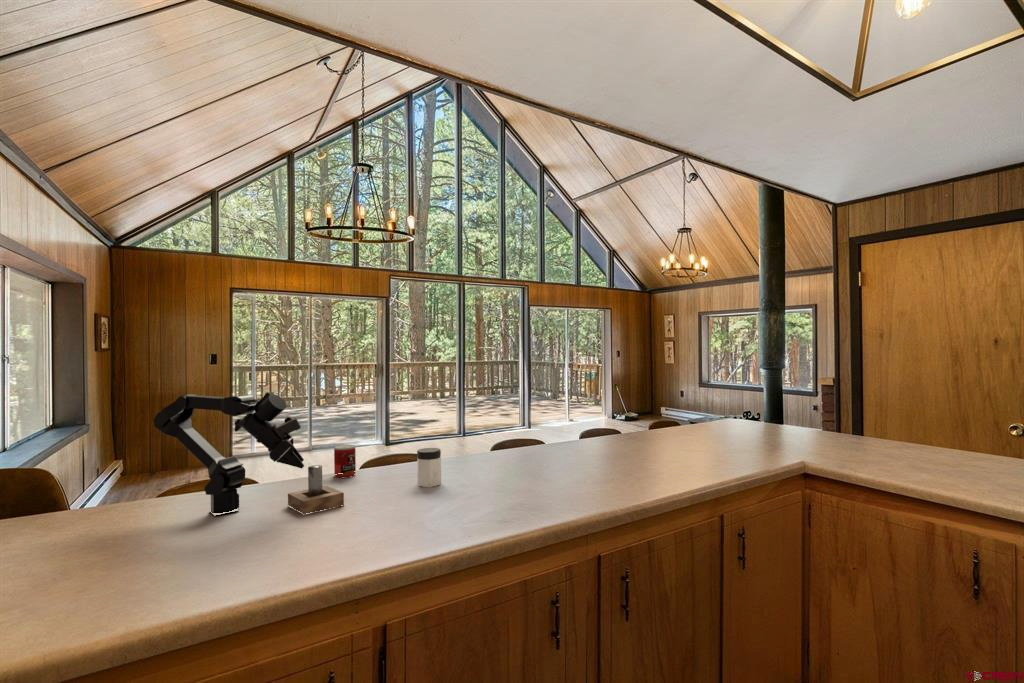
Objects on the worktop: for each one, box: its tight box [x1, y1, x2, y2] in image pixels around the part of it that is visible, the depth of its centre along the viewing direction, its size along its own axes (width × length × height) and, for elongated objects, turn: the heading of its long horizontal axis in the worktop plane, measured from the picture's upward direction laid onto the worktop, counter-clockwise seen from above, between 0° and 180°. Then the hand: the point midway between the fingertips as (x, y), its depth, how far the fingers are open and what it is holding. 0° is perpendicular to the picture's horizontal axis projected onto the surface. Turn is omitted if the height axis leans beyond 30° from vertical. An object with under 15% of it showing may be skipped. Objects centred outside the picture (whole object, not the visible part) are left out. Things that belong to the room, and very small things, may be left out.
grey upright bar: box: [307, 464, 324, 497], centre depth 151 cm, size 4×4×12 cm
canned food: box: [333, 444, 357, 479], centre depth 189 cm, size 8×8×11 cm
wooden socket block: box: [287, 485, 345, 514], centre depth 151 cm, size 12×12×4 cm
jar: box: [416, 447, 442, 488], centre depth 174 cm, size 9×8×12 cm
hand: (302, 464), depth 150 cm, fingers open, 9 cm apart
